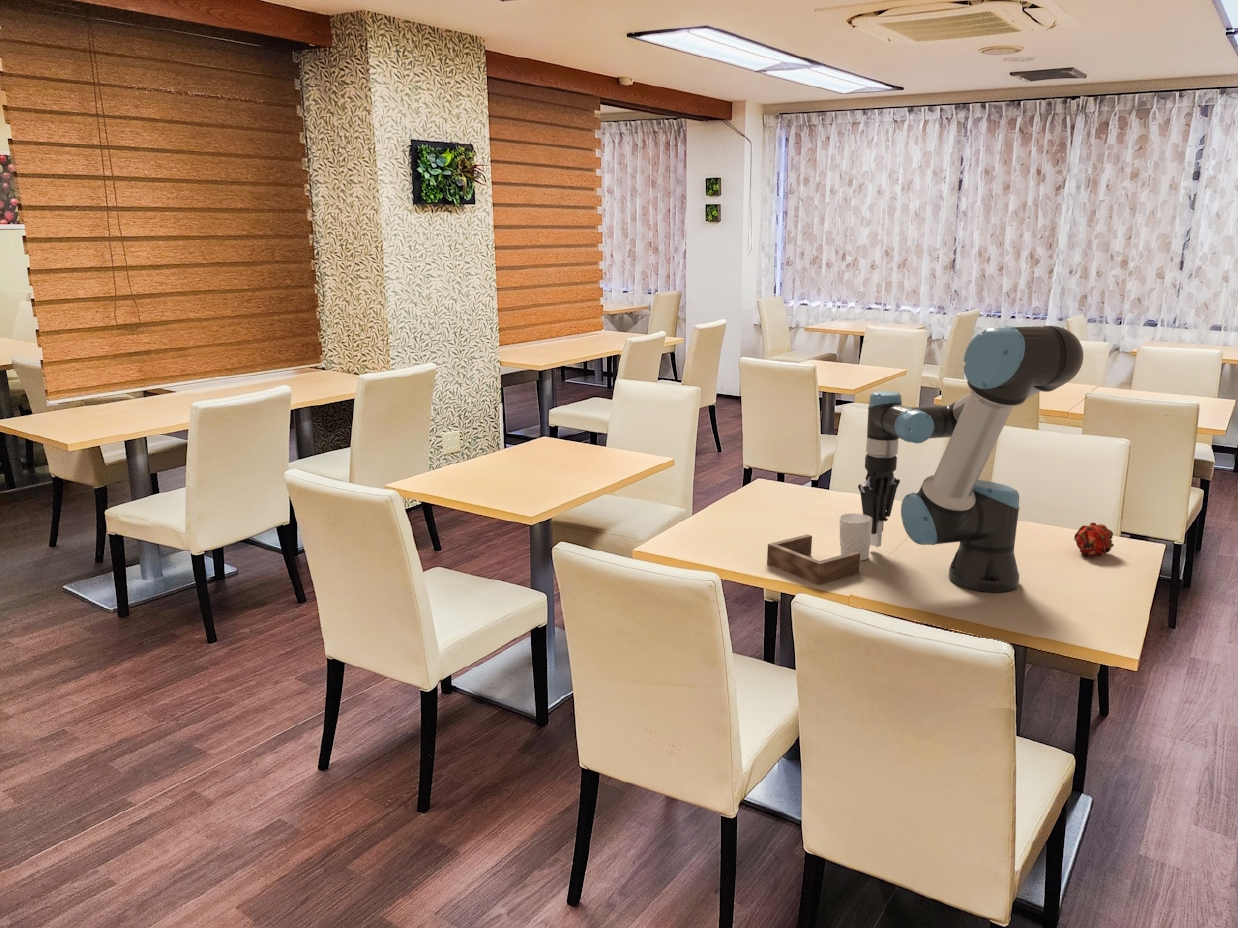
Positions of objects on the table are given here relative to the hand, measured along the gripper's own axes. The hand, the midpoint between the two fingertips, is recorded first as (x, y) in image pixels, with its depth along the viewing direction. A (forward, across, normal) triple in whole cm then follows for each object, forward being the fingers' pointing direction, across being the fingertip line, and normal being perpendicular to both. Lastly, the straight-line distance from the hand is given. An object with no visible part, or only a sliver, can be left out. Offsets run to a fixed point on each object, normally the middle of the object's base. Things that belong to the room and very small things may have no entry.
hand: (874, 544), depth 235 cm
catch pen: (+1, +22, 0) cm, 22 cm away
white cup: (+2, +8, 0) cm, 8 cm away
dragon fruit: (+2, -44, +32) cm, 54 cm away
